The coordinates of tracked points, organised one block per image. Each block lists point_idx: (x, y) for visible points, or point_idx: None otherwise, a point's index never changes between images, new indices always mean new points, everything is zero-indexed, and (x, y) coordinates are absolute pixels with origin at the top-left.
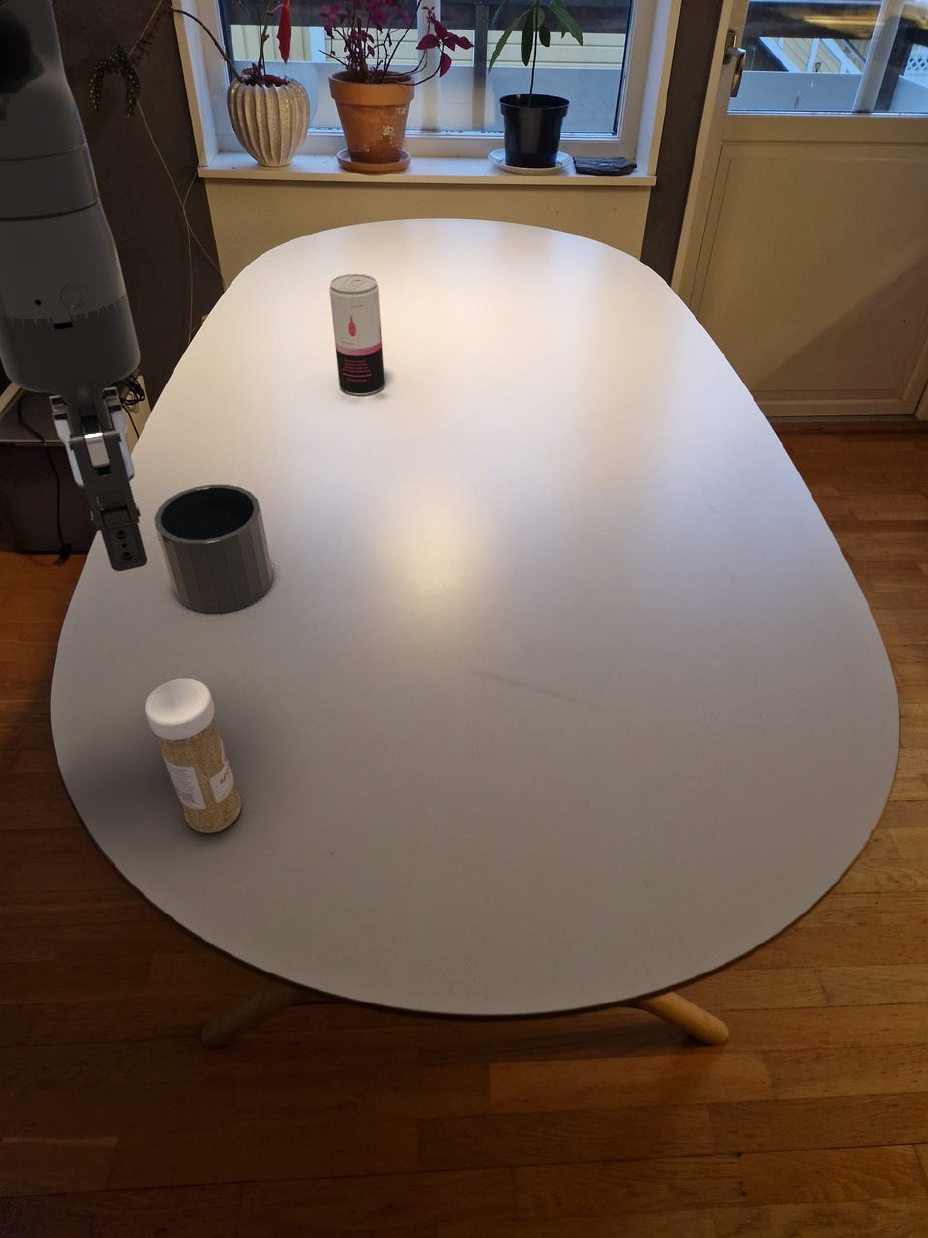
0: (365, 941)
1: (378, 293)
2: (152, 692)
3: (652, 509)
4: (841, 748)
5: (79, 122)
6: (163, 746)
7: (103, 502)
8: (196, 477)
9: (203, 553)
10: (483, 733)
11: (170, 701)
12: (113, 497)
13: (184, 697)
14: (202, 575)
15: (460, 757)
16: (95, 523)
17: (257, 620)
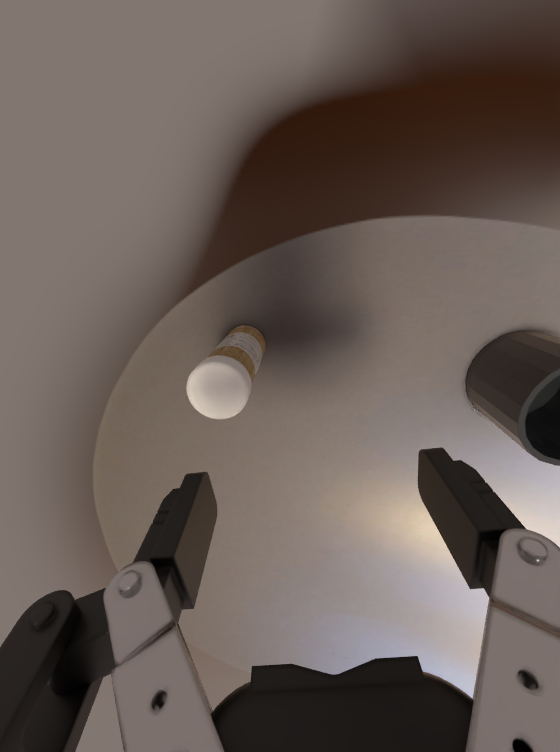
0: (135, 417)
1: None
2: (232, 370)
3: (432, 654)
4: (209, 639)
5: None
6: (209, 356)
7: (421, 458)
8: None
9: (514, 396)
10: (266, 509)
11: (215, 386)
12: (423, 479)
13: (216, 399)
14: (499, 378)
15: (250, 493)
16: (14, 627)
17: (443, 397)
